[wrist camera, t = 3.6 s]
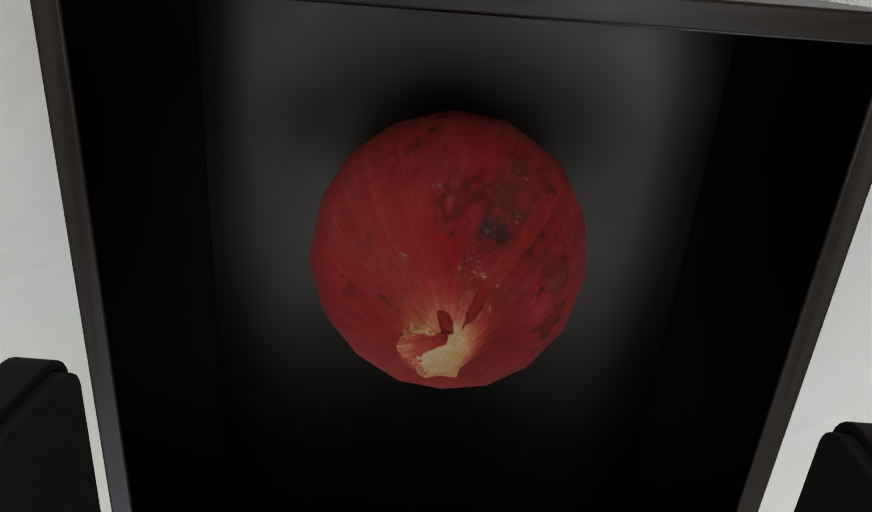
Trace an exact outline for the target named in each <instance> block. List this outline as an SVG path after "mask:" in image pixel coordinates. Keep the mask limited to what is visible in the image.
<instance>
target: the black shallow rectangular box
mask: <svg viewBox="0 0 872 512" xmlns="http://www.w3.org/2000/svg"><path fill="white" fill-rule="evenodd" d="M30 3H31V10H32V16H33V22H34V28H35V35H36V41H37V47H38V53H39V60H40V66H41V72H42V78H43V84H44V91H45V97H46V103H47V109H48V116H49V122H50V128H51V134H52V141H53V147H54V153H55V159H56V166H57V172H58V178H59V184H60V191H61V197H62V203H63V209H64V216H65V222H66V228H67V234H68V241H69V247H70V253H71V259H72V266H73V272H74V278H75V284H76V290H77V297H78V303H79V309H80V315H81V322H82V328H83V334H84V340H85V347H86V353H87V359H88V365H89V372H90V378H91V384H92V390H93V397H94V403H95V409H96V415H97V422H98V428H99V434H100V440H101V447H102V453H103V459H104V465H105V472H106V478H107V484H108V490H109V497H110V503H111V509H112V512H758V510H759V507H760V504H761V502H762V499H763V496H764V493H765V490H766V487H767V484H768V481H769V478H770V476H771V473H772V470H773V467H774V464H775V461H776V458H777V455H778V452H779V450H780V447H781V444H782V441H783V438H784V435H785V432H786V429H787V426H788V424H789V421H790V418H791V415H792V412H793V409H794V406H795V403H796V400H797V398H798V395H799V392H800V389H801V386H802V383H803V380H804V377H805V374H806V371H807V369H808V366H809V363H810V360H811V357H812V354H813V351H814V348H815V345H816V343H817V340H818V337H819V334H820V331H821V328H822V325H823V322H824V319H825V317H826V314H827V311H828V308H829V305H830V302H831V299H832V296H833V293H834V291H835V288H836V285H837V282H838V279H839V276H840V273H841V270H842V267H843V265H844V262H845V259H846V256H847V253H848V250H849V247H850V244H851V241H852V238H853V236H854V233H855V230H856V227H857V224H858V221H859V218H860V215H861V212H862V210H863V207H864V204H865V201H866V198H867V195H868V192H869V189H870V186H871V184H872V8H871V7H864V6H856V5H849V4H842V3H835V2H828V1H821V0H30ZM448 110H458V111H463V112H468V113H473V114H478V115H482V116H487V117H492V118H497V119H502V120H507V121H509V122H510V123H511V124H512V125H514V126H515V127H516V128H518V129H519V130H520V131H521V132H523V133H524V134H525V135H527V136H528V137H529V138H530V139H532V140H533V141H534V142H535V143H537V144H538V145H539V146H541V147H542V148H543V149H544V150H546V151H547V152H548V153H550V154H551V155H552V156H553V157H555V158H556V159H557V160H558V161H559V162H560V163H561V165H562V167H563V170H564V172H565V174H566V176H567V178H568V180H569V182H570V185H571V187H572V189H573V191H574V193H575V195H576V198H577V200H578V202H579V204H580V206H581V208H582V210H583V213H584V221H585V238H586V278H585V281H584V283H583V285H582V287H581V289H580V291H579V294H578V296H577V298H576V301H575V303H574V305H573V308H572V310H571V313H570V315H569V318H568V320H567V323H566V325H565V327H564V330H563V331H562V332H561V333H560V334H559V335H558V336H557V337H556V338H555V339H554V340H553V341H552V342H551V343H550V344H549V345H548V346H547V347H546V348H545V349H544V350H543V351H542V352H541V353H540V354H539V355H538V356H537V357H536V358H535V359H534V360H533V361H532V362H531V363H530V364H529V365H528V366H527V367H526V368H523V369H521V370H519V371H517V372H515V373H512V374H510V375H508V376H506V377H504V378H502V379H499V380H497V381H495V382H493V383H491V384H488V385H485V386H473V387H460V388H446V389H440V388H435V387H430V386H425V385H420V384H415V383H410V382H404V381H399V380H397V379H395V378H394V377H392V376H391V375H389V374H387V373H386V372H384V371H383V370H381V369H380V368H378V367H376V366H375V365H373V364H372V363H370V362H368V361H367V360H365V359H364V358H362V357H361V356H359V355H358V354H357V353H356V352H355V351H354V350H353V348H352V347H351V346H350V345H349V343H348V342H347V341H346V340H345V339H344V337H343V336H342V335H341V334H340V332H339V331H338V330H337V329H336V327H335V326H334V325H333V324H332V323H331V321H330V320H329V319H328V317H327V315H326V313H325V311H324V309H323V307H322V303H321V300H320V296H319V293H318V290H317V286H316V283H315V279H314V276H313V273H312V269H311V266H310V263H309V256H310V251H311V246H312V242H313V237H314V232H315V227H316V222H317V217H318V212H319V208H320V204H321V200H322V196H323V195H324V193H325V192H326V190H327V189H328V187H329V185H330V184H331V182H332V181H333V179H334V178H335V176H336V175H337V173H338V171H339V170H340V168H341V167H342V165H343V164H344V162H345V161H346V159H347V157H348V156H349V154H350V153H351V152H353V151H354V150H356V149H357V148H359V147H360V146H361V145H363V144H364V143H366V142H367V141H369V140H370V139H372V138H373V137H375V136H376V135H377V134H379V133H380V132H382V131H383V130H385V129H386V128H388V127H389V126H391V125H392V124H393V123H396V122H400V121H405V120H409V119H413V118H418V117H422V116H426V115H431V114H435V113H440V112H444V111H448Z"/></svg>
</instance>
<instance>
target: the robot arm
mask: <svg viewBox="0 0 872 512" xmlns="http://www.w3.org/2000/svg"><path fill="white" fill-rule="evenodd" d="M0 512H101V510H100V504H99V498H98V491H97V485H96V479H95V472H94V466H93V460H92V453H91V447H90V441H89V434H88V428H87V422H86V415H85V409H84V403H83V396H82V390H81V384H80V381H79V378H78V377H77V375H75V374H73V373H68V370H67V368H66V366H65V365H64V363H63V362H60V361H58V360H47V359H34V358H21V357H12V358H8V359H7V360H5V361H3V362H2V363H1V364H0ZM794 512H872V423H859V422H843V423H840V424H839V425H838V426H836V427H835V429H834V431H833V432H828V433H825V434H824V435H823V436H822V438H821V439H820V441H819V444H818V447H817V449H816V452H815V455H814V458H813V461H812V463H811V466H810V469H809V472H808V474H807V477H806V480H805V483H804V486H803V488H802V491H801V494H800V497H799V499H798V502H797V505H796V508H795V510H794Z"/></svg>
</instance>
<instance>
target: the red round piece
mask: <svg viewBox="0 0 872 512" xmlns="http://www.w3.org/2000/svg"><path fill="white" fill-rule="evenodd" d="M309 263H310V266H311V269H312V273H313V276H314V279H315V283H316V286H317V290H318V293H319V296H320V300H321V303H322V307H323V309H324V311H325V313H326V315H327V317H328V319H329V320H330V321H331V323H332V324H333V325H334V326H335V327H336V329H337V330H338V331H339V332H340V334H341V335H342V336H343V337H344V339H345V340H346V341H347V342H348V343H349V345H350V346H351V347H352V348H353V350H354V351H355V352H356V353H357V354H358V355H359V356H361V357H362V358H364V359H365V360H367V361H368V362H370V363H372V364H373V365H375V366H376V367H378V368H380V369H381V370H383V371H384V372H386V373H387V374H389V375H391V376H392V377H394V378H395V379H397V380H399V381H404V382H410V383H415V384H420V385H425V386H430V387H435V388H440V389H446V388H460V387H473V386H485V385H488V384H491V383H493V382H495V381H497V380H499V379H502V378H504V377H506V376H508V375H510V374H512V373H515V372H517V371H519V370H521V369H523V368H526V367H527V366H528V365H529V364H530V363H531V362H532V361H533V360H534V359H535V358H536V357H537V356H538V355H539V354H540V353H541V352H542V351H543V350H544V349H545V348H546V347H547V346H548V345H549V344H550V343H551V342H552V341H553V340H554V339H555V338H556V337H557V336H558V335H559V334H560V333H561V332H562V331H563V330H564V327H565V325H566V323H567V320H568V318H569V315H570V313H571V310H572V308H573V305H574V303H575V301H576V298H577V296H578V294H579V291H580V289H581V287H582V285H583V283H584V281H585V278H586V238H585V221H584V213H583V210H582V208H581V206H580V204H579V202H578V200H577V198H576V195H575V193H574V191H573V189H572V187H571V185H570V182H569V180H568V178H567V176H566V174H565V172H564V170H563V167H562V165H561V163H560V162H559V161H558V160H557V159H556V158H555V157H553V156H552V155H551V154H550V153H548V152H547V151H546V150H544V149H543V148H542V147H541V146H539V145H538V144H537V143H535V142H534V141H533V140H532V139H530V138H529V137H528V136H527V135H525V134H524V133H523V132H521V131H520V130H519V129H518V128H516V127H515V126H514V125H512V124H511V123H510V122H509V121H507V120H502V119H497V118H492V117H487V116H482V115H478V114H473V113H468V112H463V111H458V110H448V111H444V112H440V113H435V114H431V115H426V116H422V117H418V118H413V119H409V120H405V121H400V122H396V123H393V124H392V125H391V126H389V127H388V128H386V129H385V130H383V131H382V132H380V133H379V134H377V135H376V136H375V137H373V138H372V139H370V140H369V141H367V142H366V143H364V144H363V145H361V146H360V147H359V148H357V149H356V150H354V151H353V152H351V153H350V154H349V156H348V157H347V159H346V161H345V162H344V164H343V165H342V167H341V168H340V170H339V171H338V173H337V175H336V176H335V178H334V179H333V181H332V182H331V184H330V185H329V187H328V189H327V190H326V192H325V193H324V195H323V196H322V200H321V204H320V208H319V212H318V217H317V222H316V227H315V232H314V237H313V242H312V246H311V251H310V256H309Z"/></svg>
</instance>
